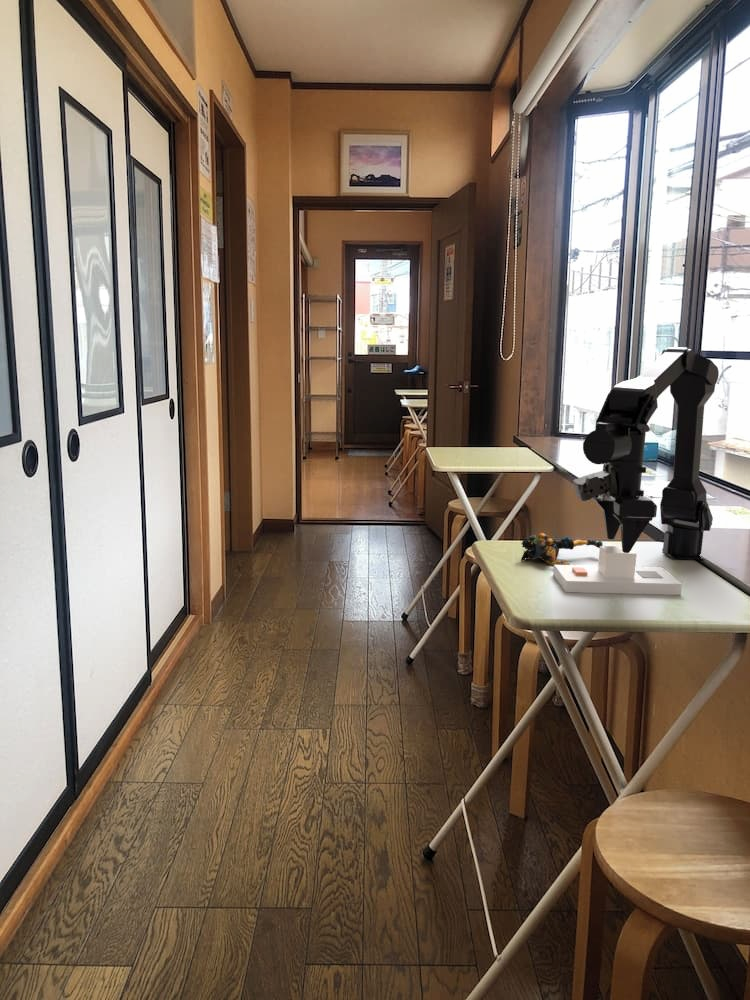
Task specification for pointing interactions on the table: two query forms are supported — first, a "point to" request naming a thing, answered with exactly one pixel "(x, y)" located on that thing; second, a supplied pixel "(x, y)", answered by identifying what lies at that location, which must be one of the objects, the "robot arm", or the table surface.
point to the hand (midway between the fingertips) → (618, 545)
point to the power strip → (616, 581)
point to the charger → (616, 562)
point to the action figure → (551, 547)
